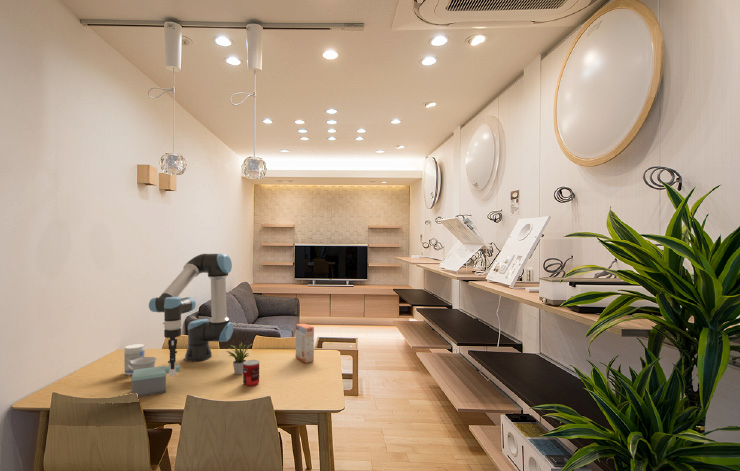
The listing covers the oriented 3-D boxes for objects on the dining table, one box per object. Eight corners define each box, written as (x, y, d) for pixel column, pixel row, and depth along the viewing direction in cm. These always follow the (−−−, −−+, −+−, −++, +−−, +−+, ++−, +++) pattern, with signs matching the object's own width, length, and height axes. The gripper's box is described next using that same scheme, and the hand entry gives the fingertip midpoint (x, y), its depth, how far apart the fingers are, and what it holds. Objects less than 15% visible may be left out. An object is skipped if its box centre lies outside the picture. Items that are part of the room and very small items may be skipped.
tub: (166, 384, 197) (166, 369, 197) (165, 392, 187) (165, 376, 187) (133, 389, 191) (134, 373, 191) (131, 397, 181) (131, 380, 181)
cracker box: (314, 361, 233) (314, 327, 233) (305, 363, 230) (305, 328, 230) (304, 355, 245) (304, 322, 245) (295, 357, 241) (295, 323, 241)
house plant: (247, 365, 226) (247, 337, 226) (259, 371, 216) (259, 342, 216) (223, 371, 216) (223, 342, 216) (234, 378, 206) (234, 347, 206)
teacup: (134, 374, 211) (134, 356, 211) (161, 375, 210) (161, 356, 210) (119, 383, 199) (119, 363, 199) (148, 383, 198) (148, 364, 198)
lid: (179, 366, 200) (179, 362, 200) (179, 374, 190) (179, 369, 190) (134, 373, 191) (134, 368, 191) (131, 381, 181) (131, 375, 181)
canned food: (245, 380, 202) (245, 359, 202) (260, 380, 203) (260, 359, 203) (241, 386, 195) (241, 364, 195) (257, 386, 195) (257, 364, 195)
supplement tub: (145, 373, 213) (145, 346, 213) (124, 377, 208) (124, 349, 208) (143, 368, 221) (143, 342, 221) (124, 371, 216) (124, 345, 216)
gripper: (164, 324, 203) (164, 364, 203) (163, 334, 181) (163, 380, 181) (180, 322, 206) (180, 362, 206) (181, 333, 184) (181, 377, 184)
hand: (172, 371), depth 193 cm, fingers open, 13 cm apart
